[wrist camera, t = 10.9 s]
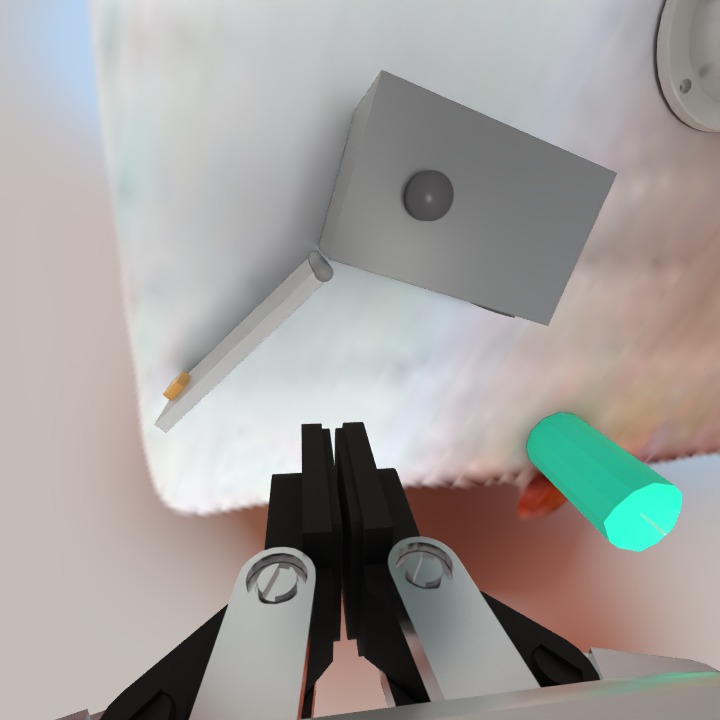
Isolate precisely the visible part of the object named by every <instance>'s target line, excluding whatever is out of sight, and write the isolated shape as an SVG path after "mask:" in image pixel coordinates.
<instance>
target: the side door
mask: <svg viewBox="0 0 720 720" xmlns="http://www.w3.org/2000/svg"><path fill="white" fill-rule="evenodd" d="M332 276H333V270H332V268H331V266H330V265H329V264H328V263H327V261H326V260H325V259H324V258H323V256H322V255H321V254H320V253H319V252H317V251H314V252H311V253H310V254H309V256H308V259H306V260H305V261H304V262H303V263H302V264H301V265H300V266H299V267H298V268H297V269H296V270H295V271H294V272H292V273H291V274H290V275H289V276H288V277H287V278H286V279H285V280H284V281H283V282H282V283H281V284H280V285H279V286H278V287H277V288H276V289H275V290H274V291H273V292H272V293H271V294H270V295H269V296H268V297H267V298H266V299H264V300H263V301H262V302H261V303H260V304H259V305H258V306H257V307H256V308H255V309H254V310H253V311H252V312H251V313H250V314H249V315H248V316H247V317H246V318H245V319H244V320H243V321H242V322H241V323H240V324H239V325H238V326H237V327H235V328H234V329H233V330H232V331H231V332H230V333H229V334H228V335H227V336H226V337H225V338H224V339H223V340H222V341H221V342H220V343H219V344H218V345H217V346H216V347H215V348H214V349H213V350H212V351H211V352H210V353H209V354H208V355H206V356H205V357H204V358H203V359H202V360H201V361H200V362H199V363H198V364H197V365H196V366H195V367H194V368H193V369H192V370H191V371H190V372H189V373H188V374H187V373H186V372H185V371H183V372H182V373H181V374H180V375H179V376H177V377H176V378H175V379H174V380H173V381H172V382H171V384H170V385H169V387H168V388H167V390H166V391H165V393H164V394H163V395H164V396H165V397H167V398H168V399H169V402H168V403H167V405H166V407H165V408H164V410H163V412H162V413H161V415H160V416H159V418H158V420H157V421H156V423H155V424H154V425H155V426H157V427H158V428H160V429H161V430H162V431H164V432H165V433H166V432H168V431H169V430H170V429H171V428H172V427H173V426H174V425H175V424H176V423H177V422H178V421H179V420H180V419H181V418H182V417H183V416H184V415H185V414H186V413H188V412H189V411H190V410H191V409H192V408H193V407H194V406H195V405H196V404H197V403H198V402H199V401H200V400H201V399H202V398H203V397H204V396H205V395H206V394H208V393H209V392H210V391H211V390H212V389H213V388H214V387H215V386H216V385H217V384H218V383H219V382H220V381H221V380H222V379H223V378H224V377H225V376H226V375H228V374H229V373H230V372H231V371H232V370H233V369H234V368H235V367H236V366H237V365H238V364H239V363H240V362H241V361H242V360H243V359H244V358H245V357H246V356H248V355H249V354H250V353H251V352H252V351H253V350H254V349H255V348H256V347H257V346H258V345H259V344H260V343H261V342H262V341H263V340H264V339H265V338H266V337H268V336H269V335H270V334H271V333H272V332H273V331H274V330H275V329H276V328H277V327H278V326H279V325H280V324H281V323H282V322H283V321H284V320H285V319H286V318H288V317H289V316H290V315H291V314H292V313H293V312H294V311H295V310H296V309H297V308H298V307H299V306H300V305H301V304H302V303H303V302H304V301H305V300H306V299H308V298H309V297H310V296H311V295H312V294H313V293H314V292H315V291H316V290H317V289H318V288H319V287H320V286H321V285H322V284H323V282H327V281H329V280H330V279H331V278H332Z"/></svg>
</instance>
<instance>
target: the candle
mask: <svg viewBox="0 0 720 720" xmlns="http://www.w3.org/2000/svg"><path fill="white" fill-rule="evenodd" d="M526 448H527V452H528V457H529V460H530V461H531V462H532V463H533V464H534V465H535V466H536V467H537V468H538V469H539V470H540V471H541V472H542V473H543V474H544V475H545V476H546V477H547V478H548V479H549V480H550V481H551V482H552V483H553V484H554V485H555V486H556V487H557V488H558V489H559V490H560V491H561V492H562V493H563V494H564V495H565V496H566V497H567V498H568V500H569V501H571V502H572V504H573V505H575V507H576V508H577V509H578V510H579V511H580V512H582V514H583V515H584V516H585V517H586V518H587V519H588V520H589V521H590V522H591V523H592V524H593V525H594V526H595V527H596V528H597V529H598V530H599V531H600V532H601V533H602V534H603V535H604V536H605V537H606V538H607V539H608V540H609V541H610V542H611V543H612V544H614V545H615V546H617V547H618V548H622V549H628V550H633V551H639V552H640V551H642V550H644V549H646V548H648V547H650V546H652V545H654V544H656V543H658V542H659V541H660V540H661V539H662V538H663V537H664V536H665V535H666V534H667V533H668V532H669V531H670V530H672V529H673V528H674V525H675V523H676V520H677V517H678V515H679V512H680V510H681V502H682V493H681V492H680V491H679V490H678V489H677V488H676V487H675V486H674V485H673V484H672V483H670V482H669V481H667V480H666V479H665V478H663V477H662V476H660V475H659V474H657V473H656V472H655V471H653V470H652V469H650V468H649V467H648V466H646V465H645V464H643V463H642V462H641V461H639V460H638V459H636V458H635V457H634V456H632V455H631V454H629V453H628V452H626V451H625V450H624V449H622V448H621V447H619V446H618V445H617V444H615V443H614V442H612V441H611V440H609V439H608V438H607V437H605V436H604V435H602V434H601V433H600V432H598V431H597V430H595V429H594V428H593V427H591V426H590V425H588V424H587V423H585V422H584V421H583V420H581V419H580V418H578V417H577V416H576V415H574V414H567V413H557V414H554V415H552V416H549V417H547V418H544V419H543V420H542V421H541V422H540V423H539V424H538V425H537V426H536V427H535V428H534V429H533V430H532V431H531V434H530V436H529V439H528V442H527V445H526Z"/></svg>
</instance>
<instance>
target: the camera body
mask: <svg viewBox="0 0 720 720" xmlns="http://www.w3.org/2000/svg"><path fill="white" fill-rule="evenodd" d="M616 174H617V173H616V172H613V171H611V170H609V169H607V168H604V167H602V166H600V165H598V164H595V163H593V162H591V161H588V160H586V159H584V158H582V157H579V156H577V155H575V154H572V153H570V152H568V151H566V150H563V149H561V148H559V147H557V146H554V145H552V144H550V143H547V142H545V141H543V140H541V139H538V138H536V137H534V136H531V135H529V134H527V133H525V132H522V131H520V130H518V129H515V128H513V127H511V126H509V125H506V124H504V123H502V122H500V121H497V120H495V119H493V118H490V117H488V116H486V115H484V114H481V113H479V112H477V111H474V110H472V109H470V108H468V107H465V106H463V105H461V104H459V103H456V102H454V101H452V100H449V99H447V98H445V97H443V96H440V95H438V94H436V93H433V92H431V91H429V90H427V89H424V88H422V87H420V86H417V85H415V84H413V83H411V82H408V81H406V80H404V79H402V78H399V77H397V76H395V75H392V74H390V73H388V72H386V71H383V70H382V71H381V72H380V74H379V75H378V76H377V78H376V79H375V81H374V82H373V84H372V85H371V87H370V88H369V90H368V91H367V93H366V94H365V96H364V97H363V99H362V100H361V102H360V103H359V105H358V106H357V108H356V109H355V113H354V116H353V120H352V124H351V127H350V131H349V135H348V138H347V142H346V146H345V149H344V153H343V157H342V160H341V164H340V168H339V171H338V175H337V179H336V182H335V186H334V190H333V193H332V197H331V201H330V204H329V208H328V212H327V215H326V219H325V223H324V226H323V230H322V234H321V237H320V241H319V245H318V248H319V249H320V250H321V251H322V252H323V253H324V254H325V256H326V257H327V258H328V259H330V260H333V261H336V262H340V263H343V264H346V265H350V266H353V267H356V268H359V269H363V270H366V271H369V272H373V273H376V274H379V275H382V276H386V277H389V278H392V279H396V280H399V281H402V282H405V283H409V284H412V285H415V286H419V287H422V288H425V289H429V290H432V291H435V292H438V293H442V294H445V295H448V296H452V297H455V298H458V299H461V300H465V301H468V302H470V303H472V304H474V305H477V306H479V307H482V308H484V309H487V310H489V311H492V312H495V313H499V314H502V315H505V316H509V317H513V318H515V316H517V317H521V318H524V319H527V320H530V321H534V322H537V323H540V324H544V325H547V326H548V325H549V323H550V320H551V318H552V316H553V314H554V312H555V309H556V307H557V305H558V303H559V300H560V298H561V296H562V294H563V292H564V289H565V287H566V285H567V283H568V281H569V278H570V276H571V274H572V272H573V270H574V267H575V265H576V263H577V261H578V258H579V256H580V254H581V252H582V250H583V247H584V245H585V243H586V241H587V239H588V236H589V234H590V232H591V230H592V228H593V225H594V223H595V221H596V219H597V216H598V214H599V212H600V210H601V208H602V205H603V203H604V201H605V199H606V197H607V194H608V192H609V190H610V188H611V186H612V183H613V181H614V179H615V177H616Z"/></svg>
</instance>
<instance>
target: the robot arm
mask: <svg viewBox="0 0 720 720" xmlns="http://www.w3.org/2000/svg"><path fill="white" fill-rule="evenodd" d="M657 66H658V75H659V80H660V84H661V87H662V90H663V94H664V96H665V98H666V100H667V102H668V104H669V106H670V108H671V109H672V110H673V111H674V113H675V114H676V115H677V116H678V117H679V118H680V120H682V121H683V122H685V123H686V124H688V125H689V126H691V127H692V128H695V129H698V130H701V131H704V132H720V0H667V1H666V4H665V7H664V10H663V13H662V16H661V22H660V27H659V33H658V39H657ZM341 593H342V596H343V604H344V613H345V623H346V631H347V638H348V640H351V639H356V640H357V647H358V655H359V656H364V657H365V658H366V659H367V660H369V661H370V662H371V663H372V664H374V665H375V666H376V667H377V668H378V669H379V675H380V681H381V686H382V689H383V692H384V695H385V698H386V702H387V705H388V708H383V709H376V710H368V711H361V712H353V713H346V714H339V715H331V716H324V717H317V718H313V715H314V705H315V695H316V681H317V680H318V679H319V678H320V676H321V675H322V674H323V672H324V671H325V670H326V669H327V668H328V666H329V665H330V664H331V663H332V661H333V642H334V641H340V626H341ZM56 720H720V671H718V670H716V669H714V668H712V667H710V666H709V665H707V664H704V663H700V662H696V661H693V660H687V659H680V658H672V657H664V656H656V655H648V654H640V653H632V652H624V651H617V650H608V649H601V648H592V647H590V650H589V652H588V653H582V652H581V651H580V650H579V649H578V648H577V647H575V646H574V645H573V644H571V643H570V642H568V641H567V640H566V639H564V638H562V637H560V636H559V635H557V634H555V633H553V632H552V631H550V630H548V629H546V628H545V627H543V626H541V625H539V624H538V623H536V622H534V621H532V620H531V619H529V618H527V617H525V616H524V615H522V614H520V613H519V612H517V611H515V610H513V609H512V608H510V607H508V606H506V605H505V604H503V603H501V602H499V601H498V600H496V599H494V598H492V597H490V596H489V595H487V594H485V593H484V592H482V591H480V590H478V588H477V587H476V585H475V584H474V582H473V580H472V579H471V577H470V576H469V574H468V573H467V571H466V570H465V568H464V566H463V565H462V564H461V562H460V560H459V559H458V557H457V556H456V555H455V554H454V552H453V551H452V550H451V549H450V548H449V547H447V546H446V545H444V544H443V543H441V542H439V541H437V540H434V539H432V538H426V537H420V535H419V532H418V529H417V526H416V523H415V521H414V518H413V515H412V512H411V510H410V507H409V504H408V501H407V499H406V496H405V493H404V490H403V488H402V485H401V482H400V479H399V476H398V474H397V471H396V469H394V468H386V469H377V468H376V464H375V461H374V457H373V454H372V451H371V447H370V444H369V440H368V437H367V433H366V430H365V427H364V423H363V422H350V423H343V426H342V428H336V429H335V466H334V458H333V451H332V443H331V436H330V429H322V424H302V473H290V474H273V475H272V480H271V490H270V500H269V511H268V521H267V531H266V541H265V550H264V551H262V552H260V553H258V554H257V555H255V556H253V557H252V558H251V559H250V560H249V561H248V562H247V563H246V564H245V565H244V566H243V568H242V570H241V572H240V574H239V575H238V578H237V581H236V584H235V587H234V590H233V593H232V596H231V599H230V602H229V604H227V605H226V606H225V607H224V608H223V609H221V610H220V611H219V612H218V613H217V614H215V615H214V616H213V617H212V618H211V619H209V620H208V621H207V622H206V623H205V624H203V625H202V626H201V627H200V628H199V629H198V630H196V631H195V632H194V633H193V634H191V635H190V636H189V637H188V638H187V639H186V640H184V641H183V642H182V643H181V644H179V645H178V646H177V647H176V648H175V649H173V650H172V651H171V652H170V653H169V654H168V655H166V656H165V657H164V658H163V659H161V660H160V661H159V662H158V663H157V664H155V665H154V666H153V667H152V668H151V669H149V670H148V671H147V672H146V673H145V674H143V675H142V676H141V677H140V678H139V679H138V680H136V681H135V682H134V683H133V684H131V685H130V686H129V687H128V688H127V689H125V690H124V691H123V692H122V693H121V694H120V695H119V696H118V697H117V698H116V699H115V700H114V701H113V702H112V703H111V704H110V705H109V706H108V708H107V709H106V710H104V711H102V712H99V713H96V714H93V715H90V716H89V712H88V709H86V710H83V711H80V712H77V713H74V714H71V715H68V716H66V717H62V718H59V719H56Z"/></svg>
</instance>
